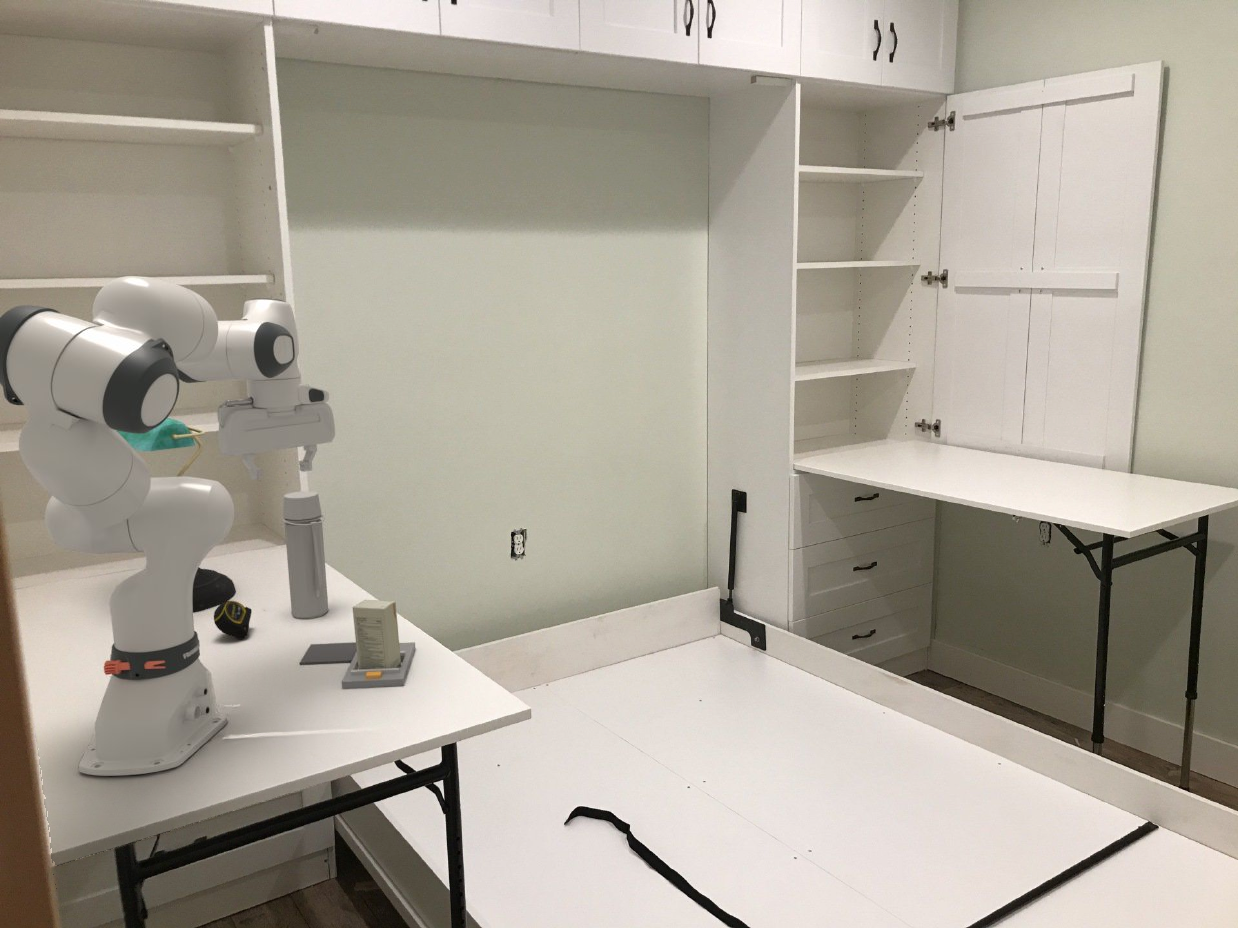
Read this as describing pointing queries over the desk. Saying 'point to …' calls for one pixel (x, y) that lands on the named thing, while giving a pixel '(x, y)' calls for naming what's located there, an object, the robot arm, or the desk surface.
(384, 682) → the panel
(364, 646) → the skincare box
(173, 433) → the banker's lamp
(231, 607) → the tape measure
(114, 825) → the desk surface
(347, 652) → the mat
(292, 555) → the water bottle
